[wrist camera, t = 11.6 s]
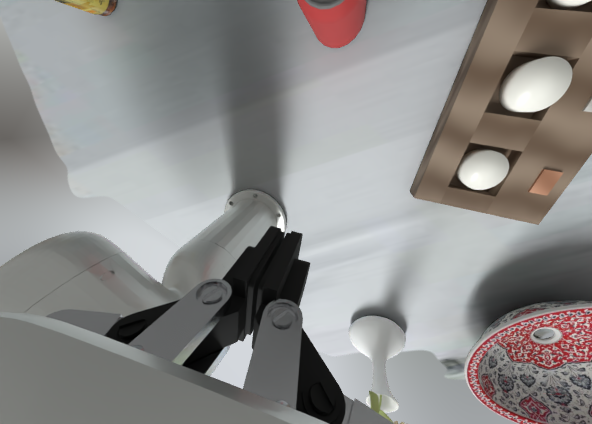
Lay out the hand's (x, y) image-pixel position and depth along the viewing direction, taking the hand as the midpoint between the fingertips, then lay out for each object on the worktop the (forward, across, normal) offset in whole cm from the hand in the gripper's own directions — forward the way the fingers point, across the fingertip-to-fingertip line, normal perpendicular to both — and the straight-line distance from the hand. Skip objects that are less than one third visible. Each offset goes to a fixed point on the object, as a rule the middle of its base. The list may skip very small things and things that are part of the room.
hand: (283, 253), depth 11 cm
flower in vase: (+27, -17, +34) cm, 47 cm away
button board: (+27, -21, -12) cm, 36 cm away
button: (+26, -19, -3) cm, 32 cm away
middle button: (+24, -20, -12) cm, 33 cm away
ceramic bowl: (+27, -43, +23) cm, 56 cm away
